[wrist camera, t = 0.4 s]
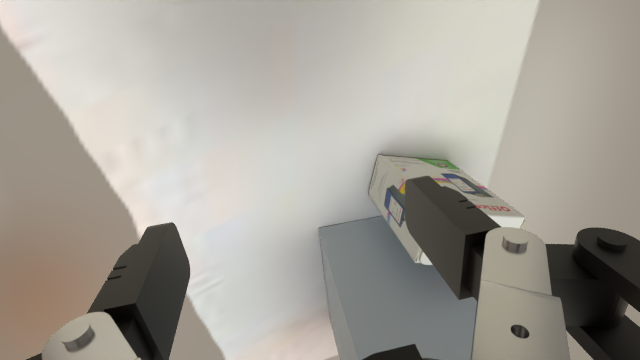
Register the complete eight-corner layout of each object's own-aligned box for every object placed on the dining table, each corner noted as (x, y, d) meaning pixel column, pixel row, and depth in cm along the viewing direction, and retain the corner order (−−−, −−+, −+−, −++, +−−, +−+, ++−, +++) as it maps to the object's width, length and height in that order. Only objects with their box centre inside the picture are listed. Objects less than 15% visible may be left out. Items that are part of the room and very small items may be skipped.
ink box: (366, 194, 36) (412, 269, 26) (377, 150, 34) (433, 213, 24) (436, 198, 38) (505, 270, 28) (451, 157, 36) (532, 218, 26)
